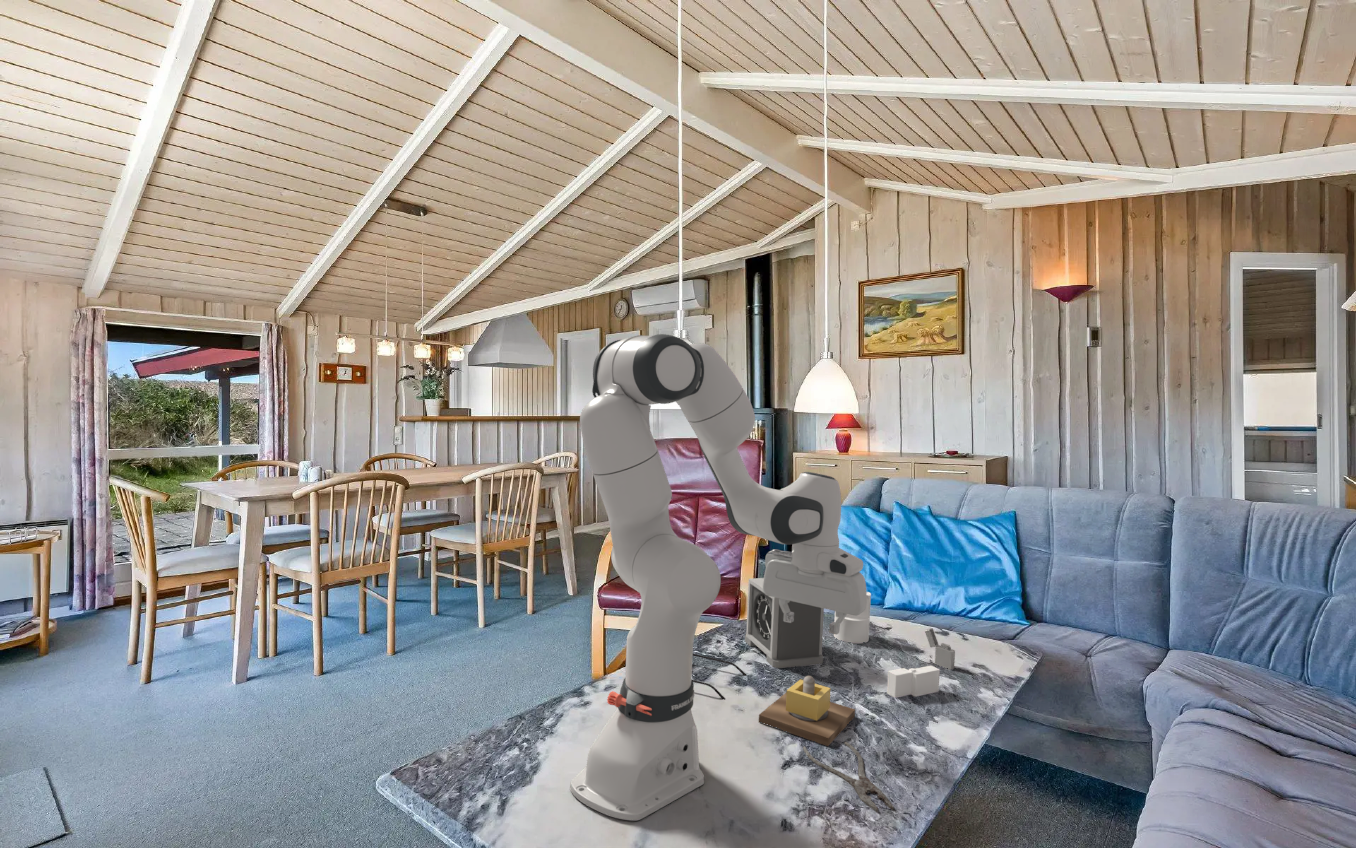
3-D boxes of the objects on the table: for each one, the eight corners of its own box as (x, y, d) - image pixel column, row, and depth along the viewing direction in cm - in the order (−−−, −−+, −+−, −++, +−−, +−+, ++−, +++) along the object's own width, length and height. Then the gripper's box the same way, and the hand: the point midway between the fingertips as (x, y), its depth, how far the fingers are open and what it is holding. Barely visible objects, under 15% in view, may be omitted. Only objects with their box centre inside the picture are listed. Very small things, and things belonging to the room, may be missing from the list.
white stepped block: (941, 687, 146) (943, 662, 146) (951, 710, 135) (952, 683, 135) (871, 678, 149) (873, 653, 149) (875, 700, 138) (876, 674, 138)
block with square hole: (816, 720, 123) (817, 700, 123) (785, 710, 127) (786, 690, 127) (829, 708, 129) (830, 688, 129) (799, 698, 132) (800, 679, 132)
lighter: (954, 668, 156) (956, 635, 156) (951, 670, 155) (952, 636, 154) (926, 658, 161) (928, 626, 161) (922, 660, 160) (924, 627, 160)
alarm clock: (743, 640, 169) (746, 569, 169) (789, 636, 173) (792, 567, 173) (774, 669, 152) (778, 590, 151) (825, 664, 156) (828, 587, 155)
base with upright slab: (834, 641, 171) (837, 595, 170) (832, 629, 179) (834, 586, 179) (870, 645, 169) (873, 599, 169) (866, 633, 178) (868, 589, 178)
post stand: (828, 746, 118) (830, 699, 118) (758, 722, 126) (760, 678, 126) (854, 716, 130) (856, 674, 129) (789, 696, 138) (791, 656, 137)
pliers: (840, 736, 121) (925, 796, 103) (840, 740, 121) (924, 801, 103) (797, 747, 117) (878, 811, 99) (797, 751, 117) (878, 817, 99)
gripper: (759, 550, 130) (755, 619, 130) (860, 568, 118) (856, 644, 119) (773, 545, 135) (769, 611, 136) (871, 562, 124) (867, 635, 124)
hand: (810, 627), depth 127 cm, fingers open, 8 cm apart
